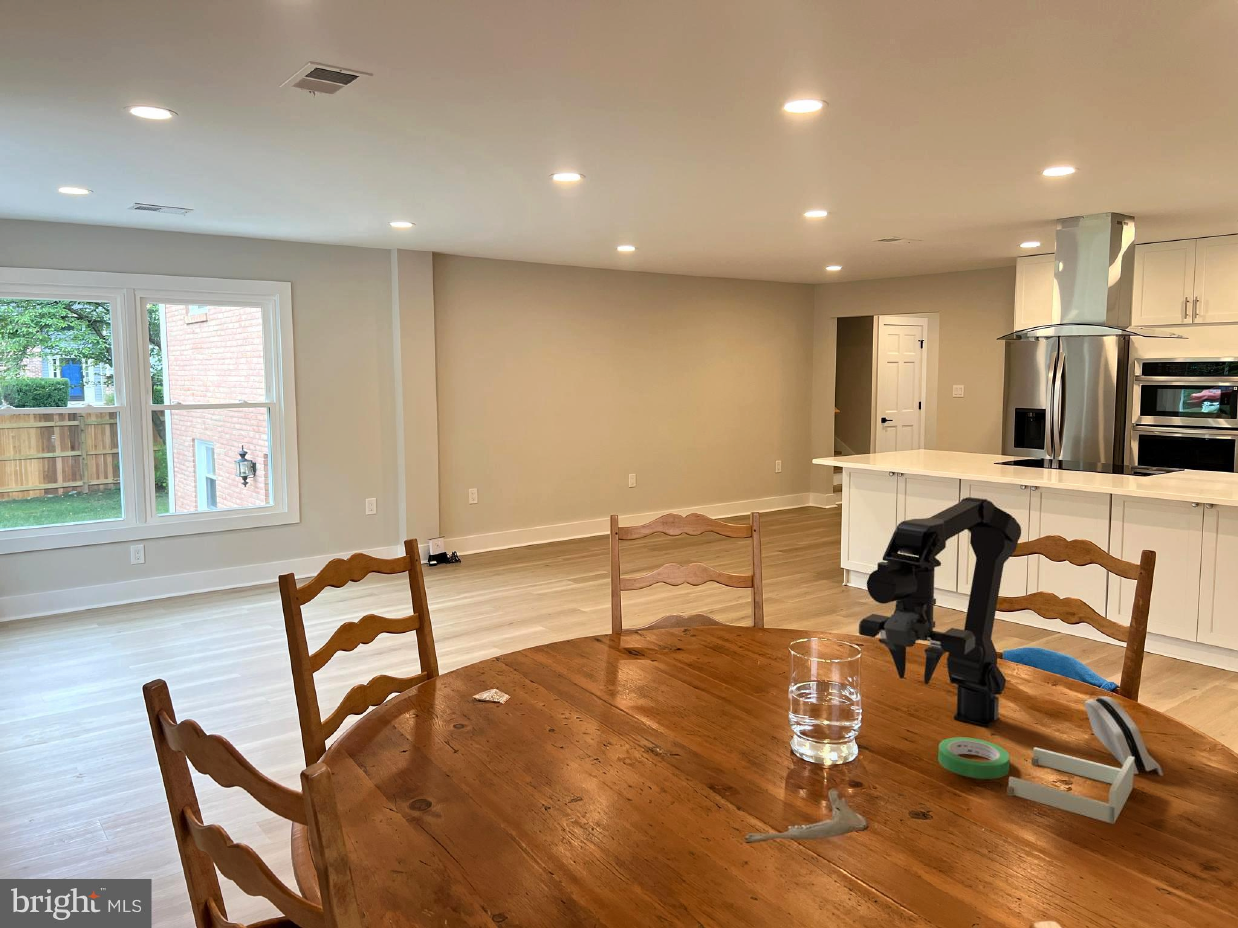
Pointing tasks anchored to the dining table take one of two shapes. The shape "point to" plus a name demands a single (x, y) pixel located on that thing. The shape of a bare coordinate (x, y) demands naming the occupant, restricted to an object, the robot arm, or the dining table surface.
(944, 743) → the tape roll
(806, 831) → the jawbone
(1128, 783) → the frame
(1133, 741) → the white curved piece
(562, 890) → the dining table surface
